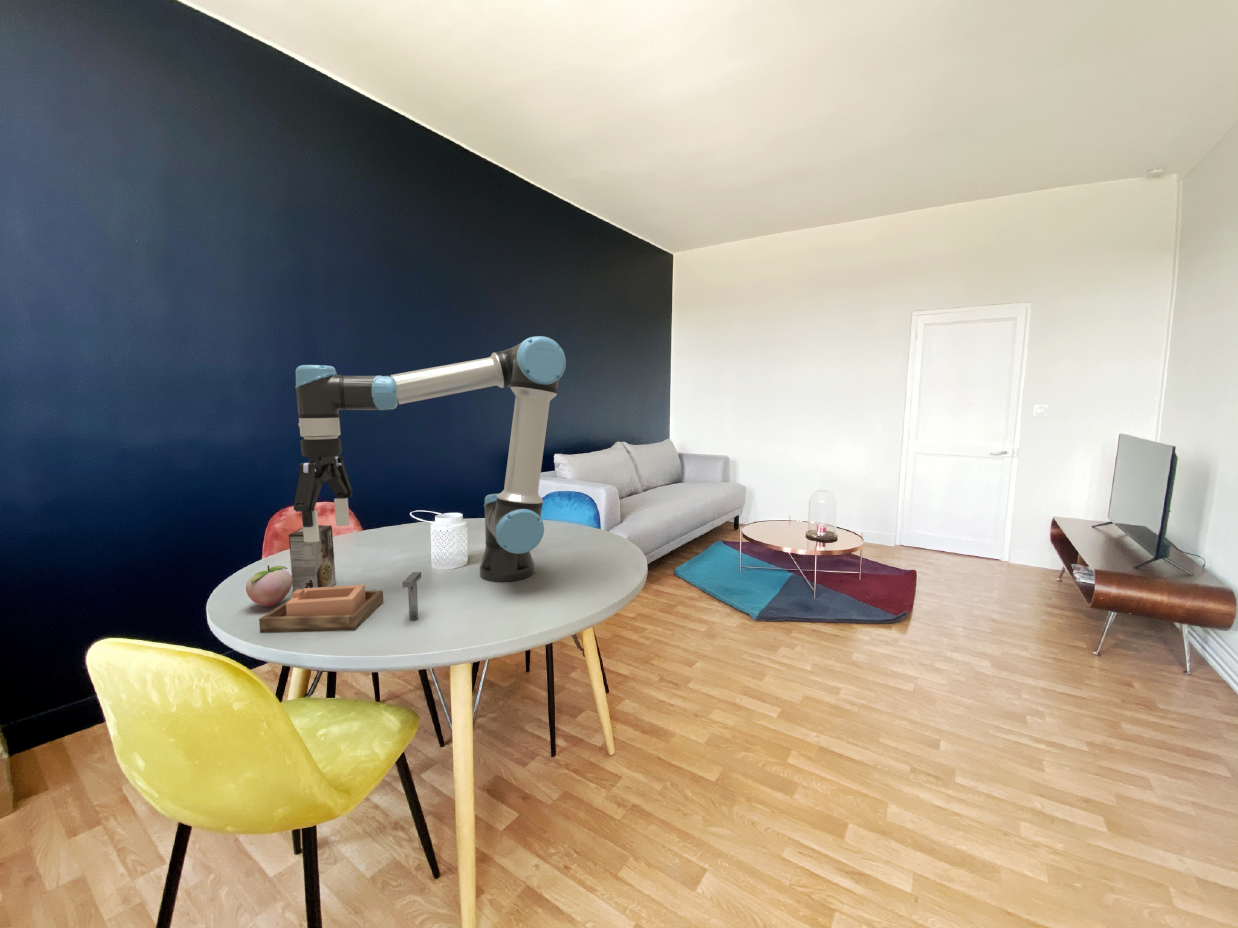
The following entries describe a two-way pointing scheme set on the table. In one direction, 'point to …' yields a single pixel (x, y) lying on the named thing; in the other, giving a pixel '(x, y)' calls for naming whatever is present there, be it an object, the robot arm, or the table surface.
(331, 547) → the coffee box
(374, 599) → the tray
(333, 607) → the terracotta rectangular box
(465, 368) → the robot arm
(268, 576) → the decorative fruit
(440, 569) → the table surface
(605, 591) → the table surface
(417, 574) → the grey t-shaped block
